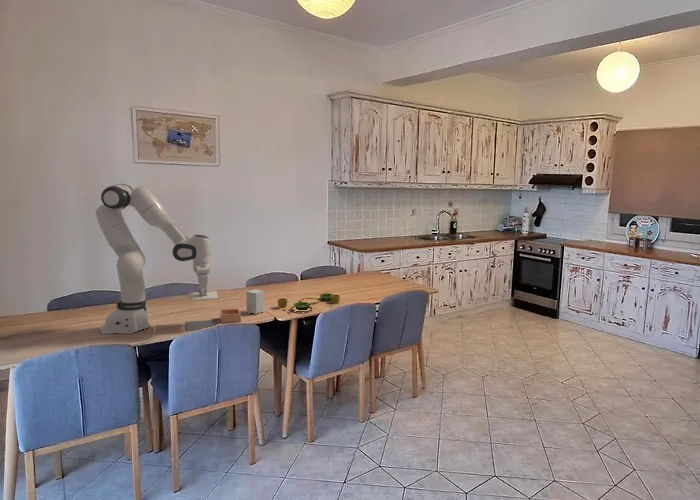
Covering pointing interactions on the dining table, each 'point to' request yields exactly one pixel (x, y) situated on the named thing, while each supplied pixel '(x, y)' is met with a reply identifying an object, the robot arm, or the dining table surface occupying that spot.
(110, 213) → the robot arm
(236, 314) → the brown open box
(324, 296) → the tableware set
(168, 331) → the dining table surface
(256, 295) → the supplement box
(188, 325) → the mat
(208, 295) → the lid
